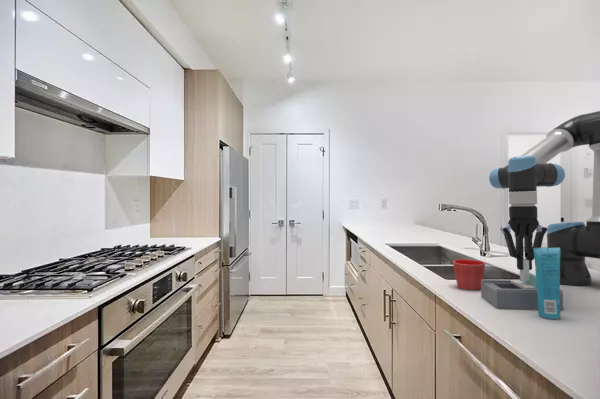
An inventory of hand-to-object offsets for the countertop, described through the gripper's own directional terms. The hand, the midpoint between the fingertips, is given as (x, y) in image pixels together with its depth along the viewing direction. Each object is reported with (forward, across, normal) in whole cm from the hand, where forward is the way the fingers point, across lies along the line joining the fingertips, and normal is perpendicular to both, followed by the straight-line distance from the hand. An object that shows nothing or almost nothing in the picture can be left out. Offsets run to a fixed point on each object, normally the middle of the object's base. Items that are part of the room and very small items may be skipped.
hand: (524, 280), depth 108 cm
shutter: (+2, -2, 0) cm, 3 cm away
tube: (+7, 0, +13) cm, 15 cm away
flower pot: (+8, +11, -18) cm, 23 cm away
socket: (+7, +2, 0) cm, 7 cm away
